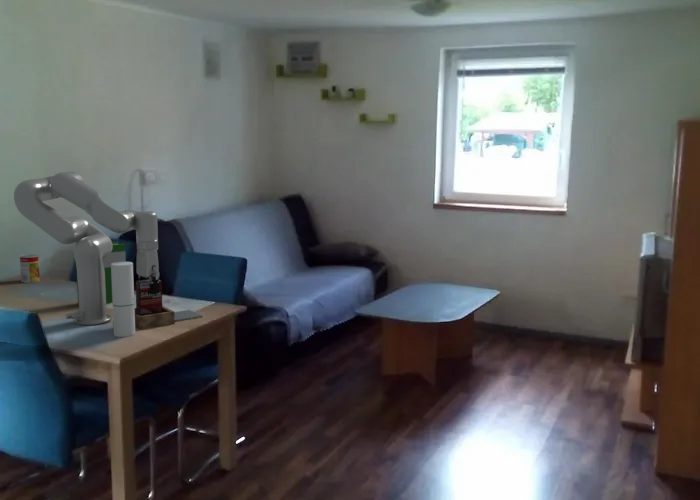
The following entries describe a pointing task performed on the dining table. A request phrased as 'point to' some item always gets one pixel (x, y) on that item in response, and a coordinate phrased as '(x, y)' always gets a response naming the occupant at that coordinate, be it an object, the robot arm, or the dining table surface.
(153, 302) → the supplement box
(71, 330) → the dining table surface
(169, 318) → the pocket frame
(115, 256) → the hardback book
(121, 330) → the cylindrical container
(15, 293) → the dining table surface
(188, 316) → the mat
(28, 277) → the canned food
